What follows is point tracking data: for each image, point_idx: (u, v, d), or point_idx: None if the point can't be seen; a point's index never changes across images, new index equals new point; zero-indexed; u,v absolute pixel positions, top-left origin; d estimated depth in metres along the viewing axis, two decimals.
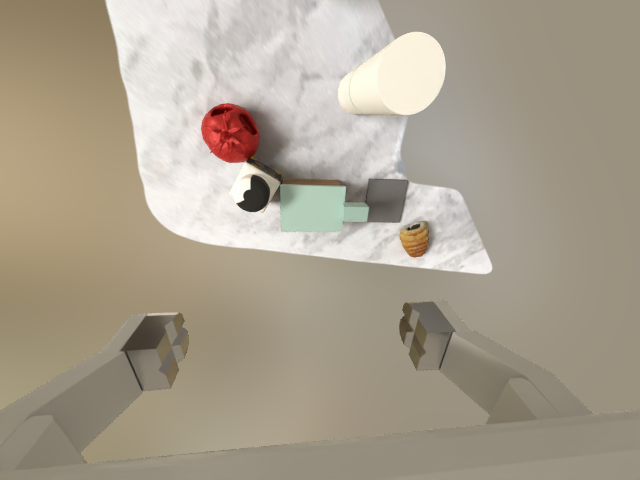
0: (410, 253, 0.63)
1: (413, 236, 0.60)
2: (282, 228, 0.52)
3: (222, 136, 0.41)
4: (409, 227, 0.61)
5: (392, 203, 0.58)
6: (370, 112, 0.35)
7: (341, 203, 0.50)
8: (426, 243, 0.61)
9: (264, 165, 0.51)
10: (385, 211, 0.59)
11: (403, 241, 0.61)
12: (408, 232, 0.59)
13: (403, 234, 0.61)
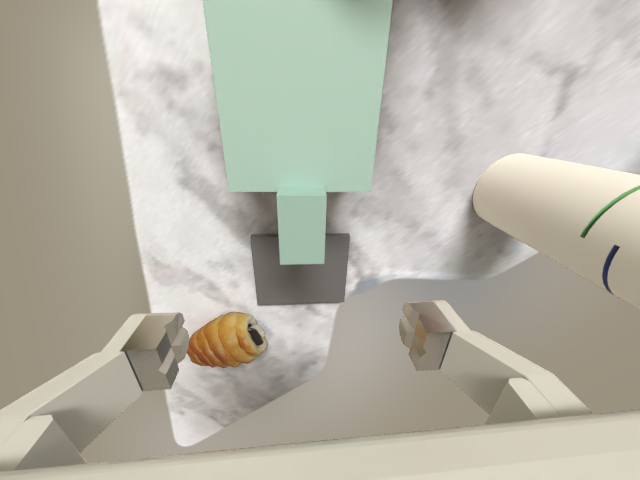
0: (194, 344, 0.29)
1: (236, 344, 0.28)
2: None
3: None
4: (252, 325, 0.30)
5: (298, 285, 0.28)
6: None
7: (323, 183, 0.17)
8: (224, 365, 0.30)
9: None
10: (280, 276, 0.28)
11: (219, 326, 0.28)
12: (244, 333, 0.28)
13: (234, 322, 0.29)
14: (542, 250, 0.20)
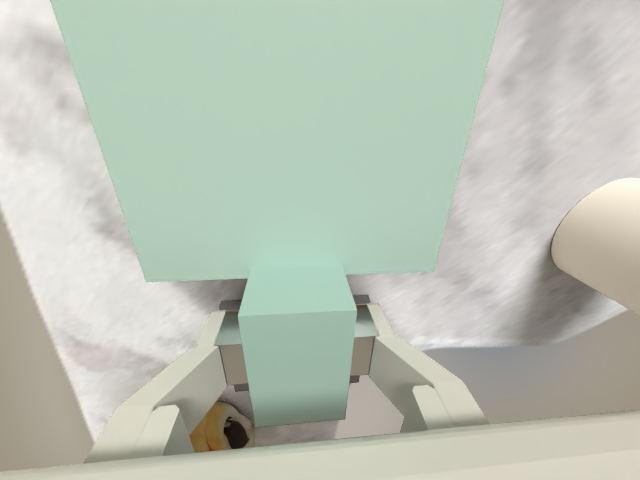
0: None
1: None
2: None
3: None
4: (231, 417, 0.22)
5: None
6: None
7: (341, 260, 0.08)
8: None
9: None
10: None
11: None
12: (217, 440, 0.19)
13: (205, 422, 0.20)
14: None
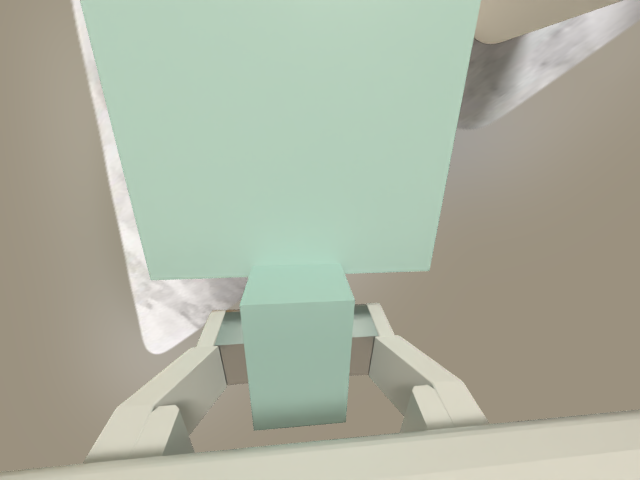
0: None
1: None
2: None
3: None
4: None
5: None
6: None
7: (340, 258, 0.09)
8: None
9: None
10: None
11: None
12: None
13: None
14: None
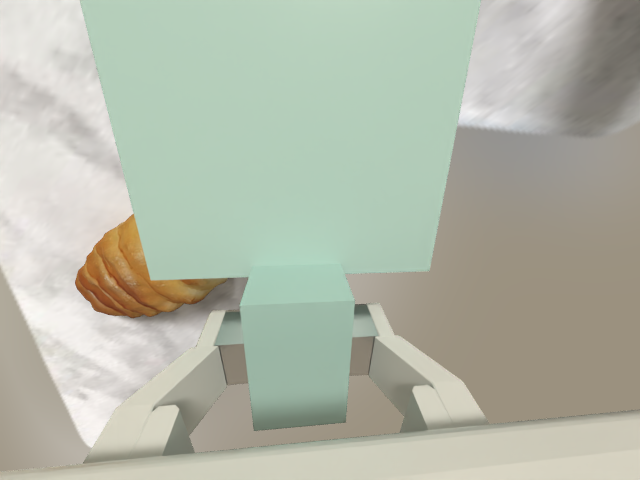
0: (83, 271, 0.16)
1: None
2: None
3: None
4: None
5: None
6: None
7: (340, 258, 0.09)
8: (149, 311, 0.17)
9: None
10: None
11: (122, 229, 0.15)
12: None
13: None
14: None
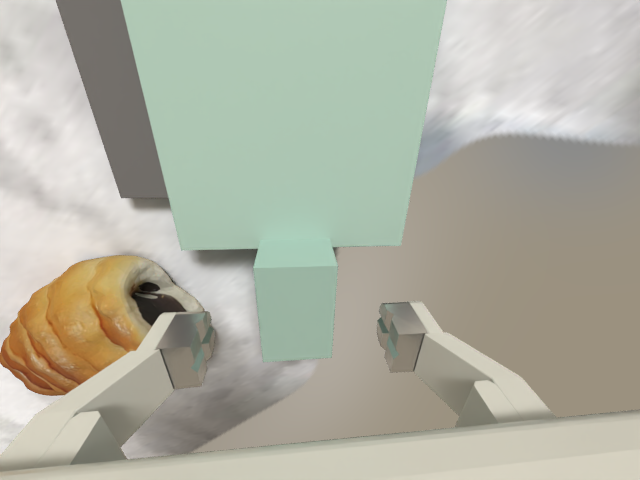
0: (6, 346, 0.11)
1: (98, 335, 0.10)
2: None
3: None
4: (160, 287, 0.12)
5: None
6: None
7: (329, 235, 0.11)
8: None
9: None
10: None
11: (53, 290, 0.10)
12: (111, 300, 0.10)
13: (92, 275, 0.10)
14: None
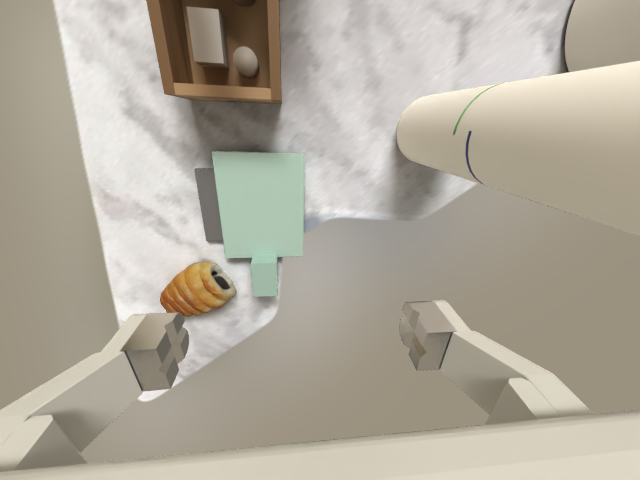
0: (166, 294, 0.32)
1: (202, 287, 0.31)
2: (219, 155, 0.26)
3: None
4: (217, 273, 0.33)
5: None
6: (514, 116, 0.14)
7: (276, 252, 0.32)
8: (197, 312, 0.33)
9: None
10: None
11: (185, 273, 0.31)
12: (207, 276, 0.31)
13: (199, 268, 0.31)
14: (438, 163, 0.23)
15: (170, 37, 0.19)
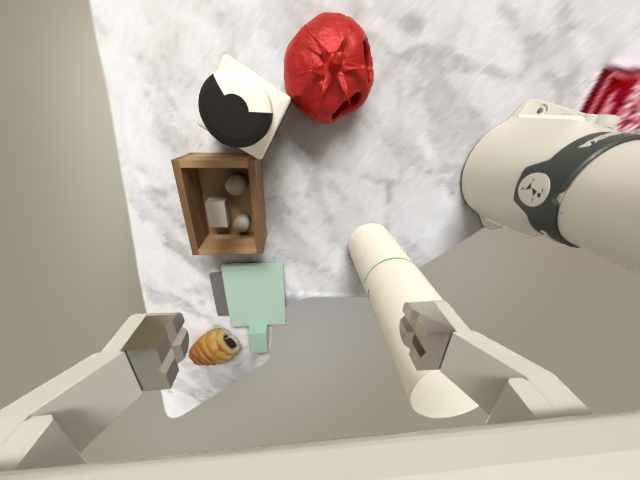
0: (192, 352, 0.46)
1: (217, 349, 0.45)
2: (225, 268, 0.40)
3: (337, 60, 0.23)
4: (228, 335, 0.47)
5: None
6: (379, 301, 0.27)
7: (266, 322, 0.46)
8: (214, 363, 0.47)
9: (280, 124, 0.32)
10: None
11: (206, 339, 0.45)
12: (221, 341, 0.45)
13: (215, 335, 0.45)
14: None
15: (196, 224, 0.33)
